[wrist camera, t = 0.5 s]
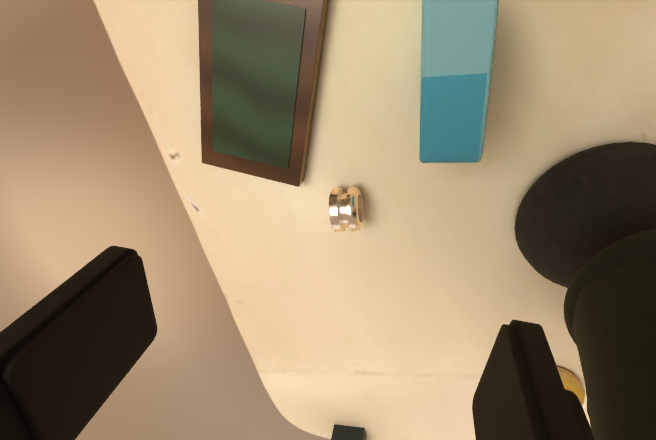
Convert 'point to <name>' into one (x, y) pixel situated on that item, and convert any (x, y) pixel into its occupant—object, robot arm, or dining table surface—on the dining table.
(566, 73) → the dining table surface
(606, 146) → the candelabra
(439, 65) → the data package
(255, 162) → the desk pad
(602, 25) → the dining table surface
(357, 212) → the metal grooved wheel
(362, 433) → the watch
